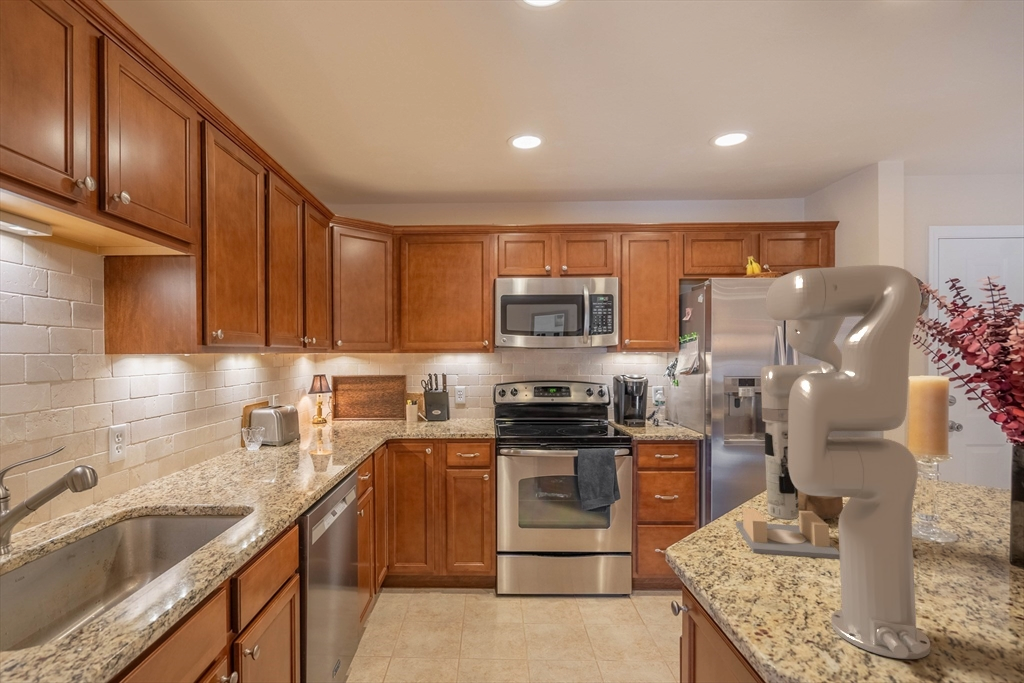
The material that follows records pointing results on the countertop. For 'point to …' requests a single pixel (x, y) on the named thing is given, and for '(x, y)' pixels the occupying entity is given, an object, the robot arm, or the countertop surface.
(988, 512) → the countertop surface
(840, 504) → the bowl
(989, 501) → the countertop surface
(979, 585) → the countertop surface
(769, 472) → the spray can
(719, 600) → the countertop surface
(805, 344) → the robot arm
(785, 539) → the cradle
